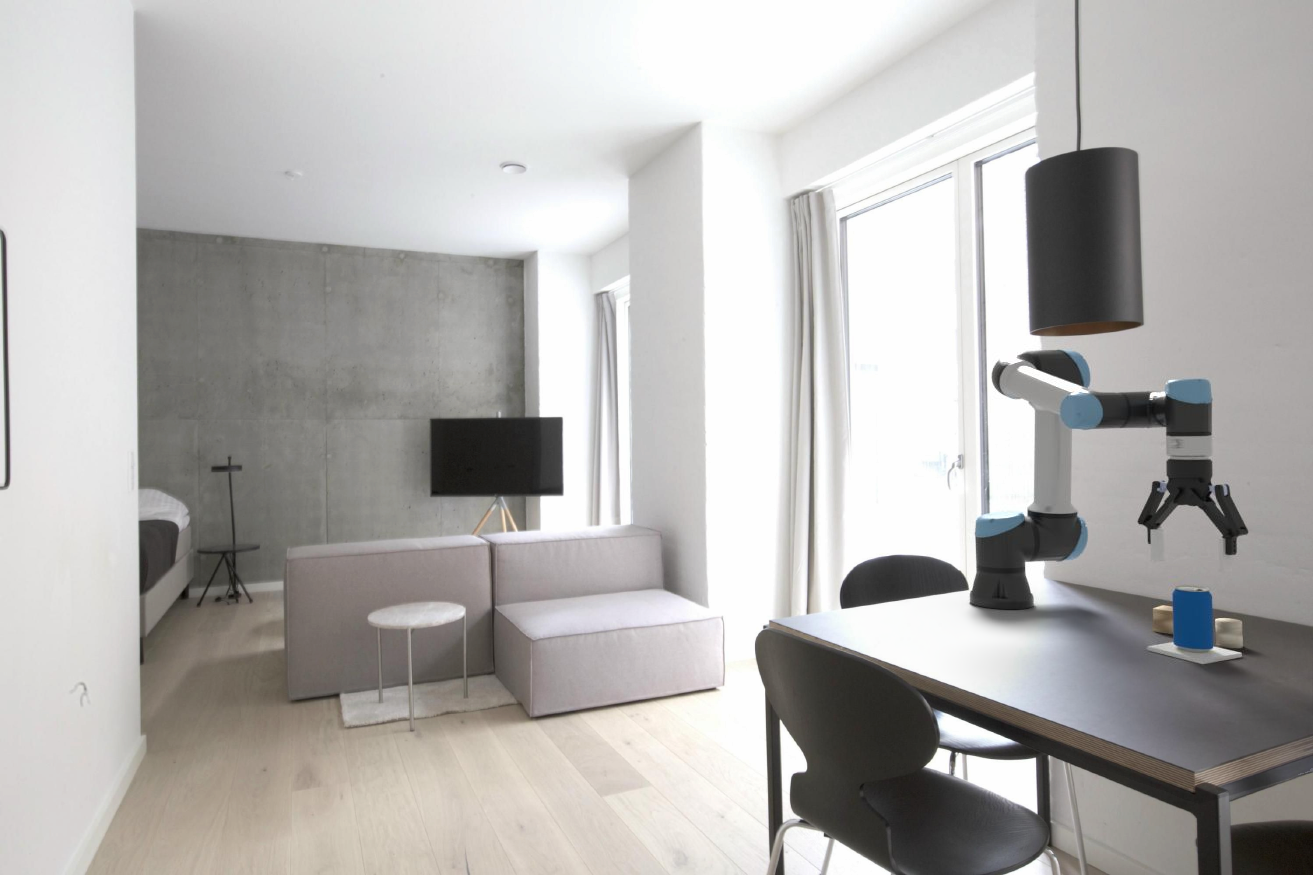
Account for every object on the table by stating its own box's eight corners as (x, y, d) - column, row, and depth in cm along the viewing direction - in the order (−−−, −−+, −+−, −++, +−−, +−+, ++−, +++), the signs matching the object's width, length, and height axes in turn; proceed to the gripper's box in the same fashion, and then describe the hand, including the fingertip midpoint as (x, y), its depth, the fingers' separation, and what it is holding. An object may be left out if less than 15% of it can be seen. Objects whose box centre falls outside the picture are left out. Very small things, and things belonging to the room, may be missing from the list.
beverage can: (1219, 654, 153) (1218, 591, 153) (1182, 653, 154) (1180, 590, 154) (1204, 645, 159) (1202, 585, 159) (1167, 644, 161) (1166, 584, 161)
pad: (1147, 650, 160) (1147, 646, 160) (1185, 643, 164) (1185, 639, 164) (1202, 664, 150) (1202, 659, 150) (1241, 656, 154) (1241, 652, 154)
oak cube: (1153, 631, 175) (1152, 608, 175) (1163, 627, 178) (1162, 605, 178) (1178, 635, 171) (1178, 612, 171) (1188, 631, 174) (1188, 608, 174)
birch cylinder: (1210, 643, 164) (1209, 619, 164) (1227, 641, 165) (1226, 617, 165) (1231, 649, 159) (1230, 623, 159) (1248, 646, 161) (1247, 621, 161)
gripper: (1117, 456, 167) (1118, 558, 167) (1243, 460, 144) (1244, 578, 144) (1143, 455, 170) (1144, 555, 170) (1270, 459, 147) (1271, 575, 147)
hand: (1190, 566), depth 157 cm, fingers open, 13 cm apart
